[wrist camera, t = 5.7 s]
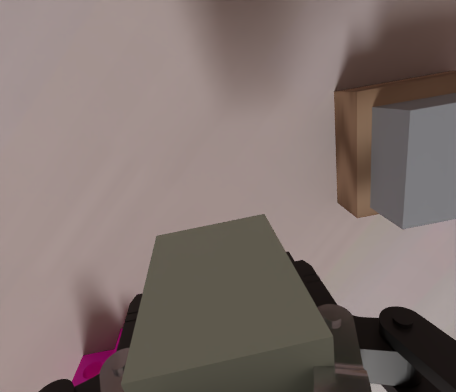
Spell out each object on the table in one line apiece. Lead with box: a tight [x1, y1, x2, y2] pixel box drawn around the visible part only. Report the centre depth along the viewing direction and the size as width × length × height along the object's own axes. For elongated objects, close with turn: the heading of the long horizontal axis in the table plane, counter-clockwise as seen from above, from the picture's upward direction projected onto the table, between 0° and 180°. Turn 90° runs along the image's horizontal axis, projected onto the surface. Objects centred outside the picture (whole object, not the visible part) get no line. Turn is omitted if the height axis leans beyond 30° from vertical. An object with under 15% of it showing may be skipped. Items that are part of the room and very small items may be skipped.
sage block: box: [121, 214, 335, 392], centre depth 11 cm, size 5×5×7 cm
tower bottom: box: [334, 71, 456, 218], centre depth 24 cm, size 10×10×4 cm
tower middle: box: [370, 93, 456, 229], centre depth 21 cm, size 8×8×4 cm
